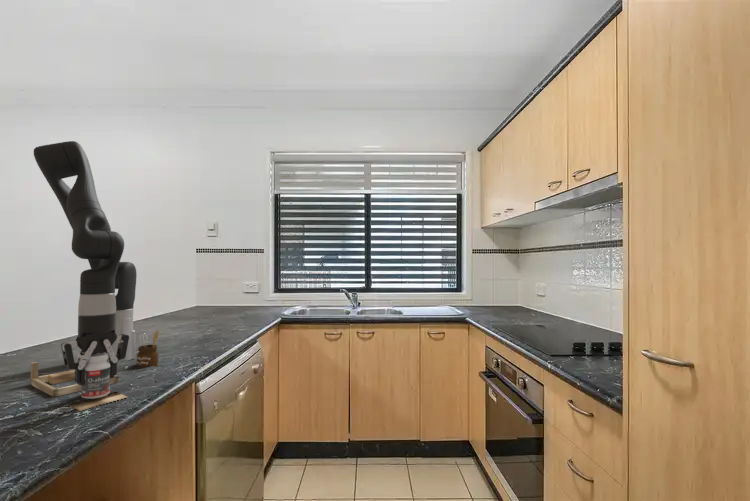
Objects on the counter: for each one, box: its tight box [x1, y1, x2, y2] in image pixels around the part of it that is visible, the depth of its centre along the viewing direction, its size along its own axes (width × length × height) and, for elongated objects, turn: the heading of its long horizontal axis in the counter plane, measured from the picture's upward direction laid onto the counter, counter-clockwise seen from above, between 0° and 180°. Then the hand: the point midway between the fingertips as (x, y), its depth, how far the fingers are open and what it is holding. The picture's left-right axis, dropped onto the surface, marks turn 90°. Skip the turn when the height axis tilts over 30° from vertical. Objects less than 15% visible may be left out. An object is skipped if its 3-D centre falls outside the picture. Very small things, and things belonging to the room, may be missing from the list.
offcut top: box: [47, 369, 75, 385], centre depth 107 cm, size 7×3×2 cm, turn 148°
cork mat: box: [68, 391, 129, 412], centre depth 96 cm, size 10×10×1 cm
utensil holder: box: [136, 330, 160, 368], centre depth 123 cm, size 6×6×12 cm
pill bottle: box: [80, 353, 111, 399], centre depth 96 cm, size 6×6×10 cm
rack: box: [29, 361, 119, 398], centre depth 104 cm, size 14×16×7 cm
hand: (96, 380), depth 96 cm, fingers closed on pill bottle, 5 cm apart
